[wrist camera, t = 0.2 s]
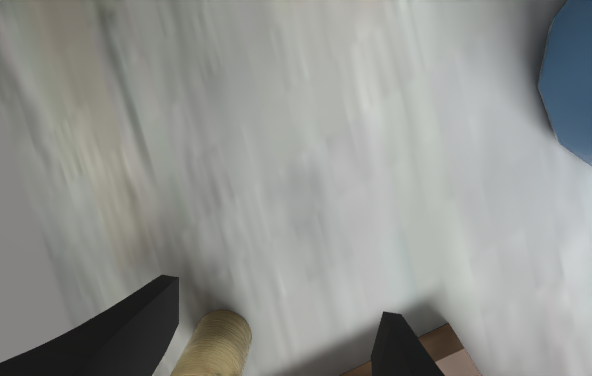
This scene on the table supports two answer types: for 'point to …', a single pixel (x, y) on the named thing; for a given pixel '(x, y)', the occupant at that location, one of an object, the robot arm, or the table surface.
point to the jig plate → (437, 354)
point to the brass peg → (216, 347)
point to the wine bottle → (569, 77)
